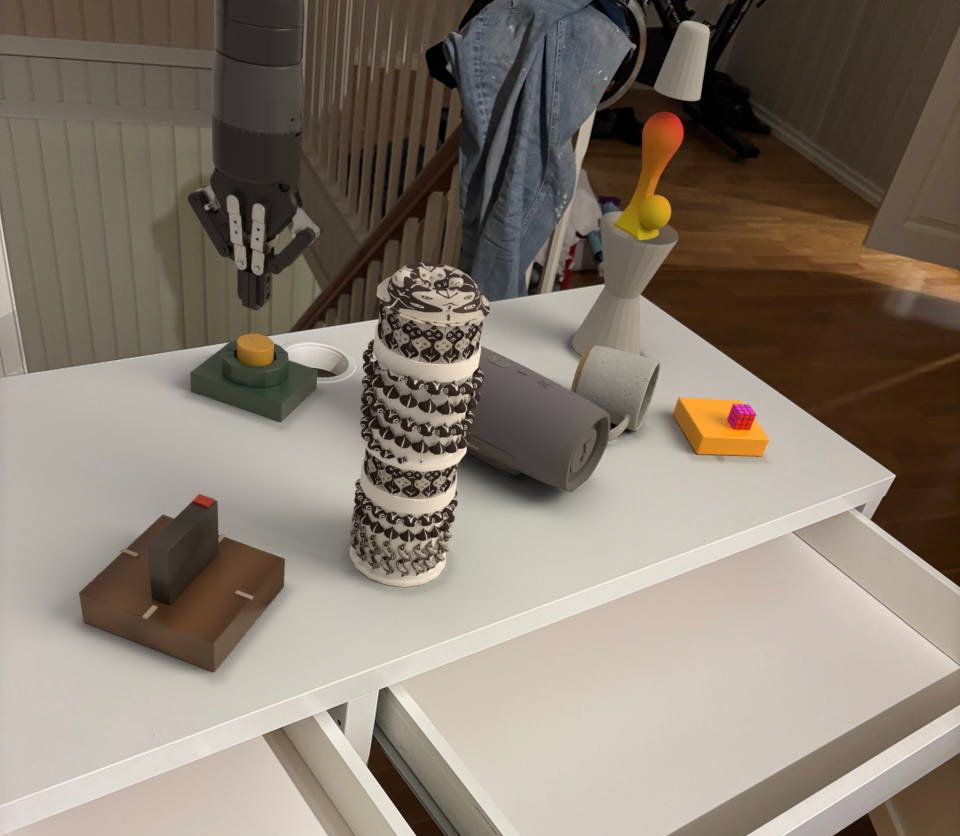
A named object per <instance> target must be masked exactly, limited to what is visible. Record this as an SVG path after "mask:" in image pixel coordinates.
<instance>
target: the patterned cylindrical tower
mask: <svg viewBox="0 0 960 836" xmlns="http://www.w3.org/2000/svg"><path fill="white" fill-rule="evenodd" d="M376 288H377V289H376V297H377V298H378V300H379V312H378V321H377V322H378V323H377V324H376V325H375V329H374V339H371V340H370V341H369V342H368V343H367V349H365V350H364V351H363V352H362V360H363V361H364V363H363V364H362V370H363V373H365V374H366V375H365V376H363V378H362V380H361V385H362V387H363V391H362V394H361V396H360V401H361V403H362V405H361V406H360V412H361V414H362V415H363V416H362V417H361V419H360V422H359V424H360V427H361V431H360V441H361V442H362V444H363V446H364V447H365V449H364V450H365V451H364V458H363V459H362V462H361V469H360V470H361V471H360V478H358V479H357V480H356V481H355V483H354V485H355V486H354V487H355V488H356V490H355V492H354V498H353V502H354V504H355V505H354V506H353V511H352V514H351V526H350V527H351V528H350V539H349V542H350V550H349V556H350V558H351V560H352V563H353V565H354V567H355V569H357V570H358V571H359V572H360V573H362V574H363V575H364V576H366V577H367V578H368V579H370V580H373V581H376V582H378V583H380V584H383V585H385V586H393V587H402V588H403V587H404V588H409V587H414V586H421V585H426V584H427V583H429V582H431V581H433V580H435V579H437V578H438V577H439V576H440V574H441V573H442V572H443V570H444V569H445V567H446V563H447V562H446V559H447V557H446V556H447V553H449V552H450V546H448V542H449V541H450V539H451V538H452V537H453V533H452V532H451V531H450V528H452V527H453V523H454V522H455V520H456V516H455V514H454V511H455V508H457V507H458V505H459V501H458V499H457V496H458V490H457V485H458V472H457V471H458V467H459V463H460V462H461V460H462V459H463V458H464V457H465V455H466V454H467V452H466V450H467V447H466V446H467V442H469V441H470V440H471V435H470V433H469V432H470V429H471V427H472V423H473V422H474V420H475V417H474V415H473V414H472V410H471V409H473V408H475V407H476V406H477V402H479V401H480V399H481V396H480V394H479V388H481V386H482V382H483V381H484V374H483V373H482V372H481V368H480V367H479V366H478V364H479V359H480V353H481V346H482V345H481V344H482V343H481V342H482V341H481V337H482V333H483V327H484V320H485V318H486V317H487V316H488V315H489V314H490V313H491V308H490V307H491V306H490V300H488V299H487V297H486V296H485V295H484V294H483V293H482V292H481V291H480V290H479V287H478V285H477V284H476V282H475V281H474V280H473V279H472V278H471V277H470V275H468V274H467V273H465V272H463V271H462V270H460V269H458V268H455V267H452V266H449V265H446V264H443V263H435V262H428V261H427V262H414V263H409V264H405V265H403V266H402V267H401V268H399V269H398V270H397V271H395V272H394V274H392V276H389V277H386V278H385V279H384V280H382V282H380V283H379V284H378V285H377V287H376ZM374 357H375V358H374ZM371 360H372V361H371ZM472 377H474V379H473V380H472ZM471 380H472V381H471ZM468 397H469V399H468Z"/></svg>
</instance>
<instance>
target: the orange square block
mask: <svg viewBox="0 0 960 836" xmlns="http://www.w3.org/2000/svg"><path fill="white" fill-rule="evenodd" d="M672 415H673V417H674V418H675V421H676V422H677V424H678V425H679V427H680V429H681V431H682V433H684V435H685V437H686V439H687V440H688V442H689V443H690V445H691V447H692V448H693V450H694V452H695V454H696V455H716V456H717V455H719V456H745V457H746V456H747V457H748V456H749V457H750V456H751V457H762V456H763V455H764V453H765V450H766V448H767V446H768V444H769V441H770V438H769V437H768V435H767V434H766V432H765V431H764V430H763V428H762V426H761V425H760V424H759V422H758V421H757V420H756V419H755V418H756V416H757V413H756V412H755V410H754V409H753V408H752V406H751V404H745V402H744V401H743V400H742V399H741V400H740V399H739V400H738V399H722V398H721V399H720V398H699V397H678V398H677V401H676V404H675V406H674V410H673V412H672Z"/></svg>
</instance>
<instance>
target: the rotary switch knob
mask: <svg viewBox="0 0 960 836" xmlns="http://www.w3.org/2000/svg"><path fill="white" fill-rule="evenodd" d="M173 518H174V519H173V520H172V521H171V522H170V523H169V524H168V525H167V526H166V527H165V528H164V529H163V530H162V531H161V532H160V533H159V534H158V535H157V536H156V537H155V538H154V539H153V540H152V541H151V542H150V543H149V544H148V545H147V550H148V561H149V572H150V584H151V595H152V598H155V599H157V600H160V601H163V602H165V603H168V604H171V603H172V602H173V601H174V600H175V599H176V598H177V597H178V596H179V595H180V594H181V593H182V592H183V590H184V589H185V588H186V587H187V586H188V585H189V584H190V583H191V582H192V581H193V580H194V579H195V577H196V576H197V575H198V574H199V573H200V572H201V571H202V570H203V569H204V568H205V567H206V566H207V564H208V563H209V562H210V561H211V560H212V559H213V558H214V557H215V556H216V555H217V554H218V553H219V535H220V534H219V501H218V500H216V499H215V498H212V497H209V496H208V495H204V494H202V493H198V494H197V495H196V496H195V497H194V498H193V499H192V500H191V501H190V503H188V505H186V507H184V509H182V510H181V511H180V512H179V513H178V515H176V516H175V517H173Z"/></svg>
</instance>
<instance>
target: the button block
mask: <svg viewBox="0 0 960 836" xmlns="http://www.w3.org/2000/svg"><path fill="white" fill-rule="evenodd" d="M289 359H290V358H289V352H288V351H286V349H284V348H283V347H282V346H281V345H280V344H278V343H274V360H273V362H272V363H271V364H268V365H264V366H254V365H248V364H245V363H242V362H240V361H239V360H238V359H237V340H230V341H229V342H228V343H226V344H225V345H224V346H223V347H221V348H220V349H218V350H217V351H216V352H215V353H214V354H212V355H211V356H209V357H208V358H207V359H206V360H204V361H203V362H202V363H201V364H199V365H198V366H197V367H196V368H194V369H193V370H191V371H190V374H189V376H190V378H189V379H190V393H194V394H196V395H199V396H202V397H205V398H208V399H211V400H214V401H217V402H220V403H222V404H226V405H228V406H232V407H234V408H237V409H240V410H243V411H245V412H248V413H252V414H255V415H257V416H260V417H263V418H266V419H269V420H272V421H275V422H278V423H282V422H283V421H284V420H286V418H287V417H288V416H289V415H291V414H292V413H293V412H294V411H295V410H296V409H297V408H298V407H299V406H300V405H301V404H302V403H303V402H304V401H305V400H306V399H307V398H308V397H309V396H310V395H311V394H312V393H313V392H314V391H315V390H317V385H318V369H316V368H313V367H310V366H308V365H306V364H302V363H298V362H295V361H292V360H289Z"/></svg>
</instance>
